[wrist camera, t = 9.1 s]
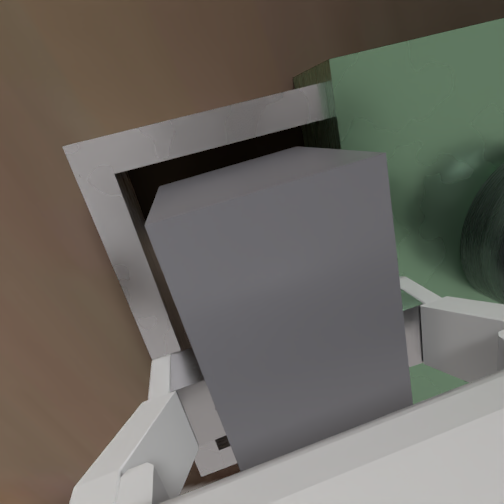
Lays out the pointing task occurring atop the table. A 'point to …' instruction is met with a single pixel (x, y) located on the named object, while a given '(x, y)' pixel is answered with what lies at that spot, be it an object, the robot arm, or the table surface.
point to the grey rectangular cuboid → (288, 294)
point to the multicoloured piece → (345, 138)
